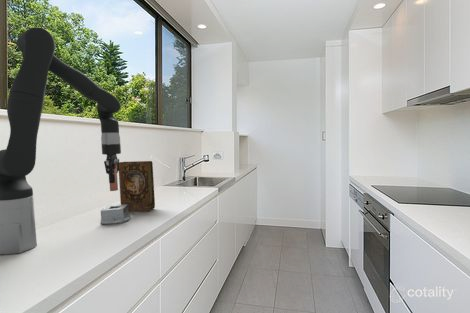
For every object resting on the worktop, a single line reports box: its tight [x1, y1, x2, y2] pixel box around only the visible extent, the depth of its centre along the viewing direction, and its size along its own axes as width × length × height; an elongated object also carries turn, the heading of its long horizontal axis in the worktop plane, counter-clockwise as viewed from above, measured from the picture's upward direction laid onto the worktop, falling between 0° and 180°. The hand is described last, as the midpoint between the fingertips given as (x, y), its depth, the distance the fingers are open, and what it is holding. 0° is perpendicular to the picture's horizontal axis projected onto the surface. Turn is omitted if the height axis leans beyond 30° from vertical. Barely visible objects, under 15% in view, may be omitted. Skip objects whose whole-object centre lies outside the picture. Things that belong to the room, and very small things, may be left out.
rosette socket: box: [100, 204, 131, 226], centre depth 115 cm, size 12×12×6 cm
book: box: [118, 160, 156, 213], centre depth 131 cm, size 16×6×25 cm, turn 84°
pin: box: [109, 160, 119, 192], centre depth 114 cm, size 4×4×14 cm
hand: (113, 182), depth 114 cm, fingers closed on pin, 3 cm apart
